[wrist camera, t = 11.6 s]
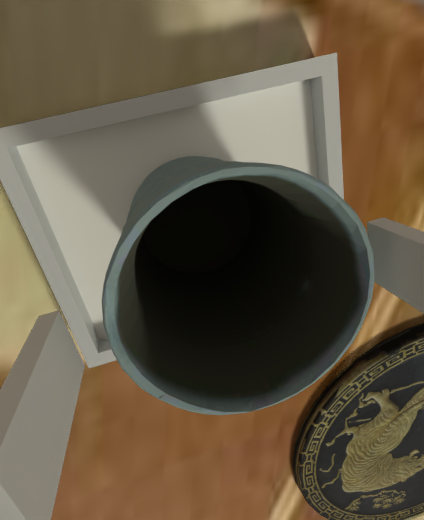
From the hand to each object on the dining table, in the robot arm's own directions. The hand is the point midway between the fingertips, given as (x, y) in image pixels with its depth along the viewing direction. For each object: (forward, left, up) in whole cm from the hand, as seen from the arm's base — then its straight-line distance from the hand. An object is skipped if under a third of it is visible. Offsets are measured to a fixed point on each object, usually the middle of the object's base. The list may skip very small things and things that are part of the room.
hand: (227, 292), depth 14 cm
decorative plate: (+19, -31, -12) cm, 38 cm away
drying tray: (0, 0, -11) cm, 11 cm away
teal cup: (0, 0, -10) cm, 10 cm away
